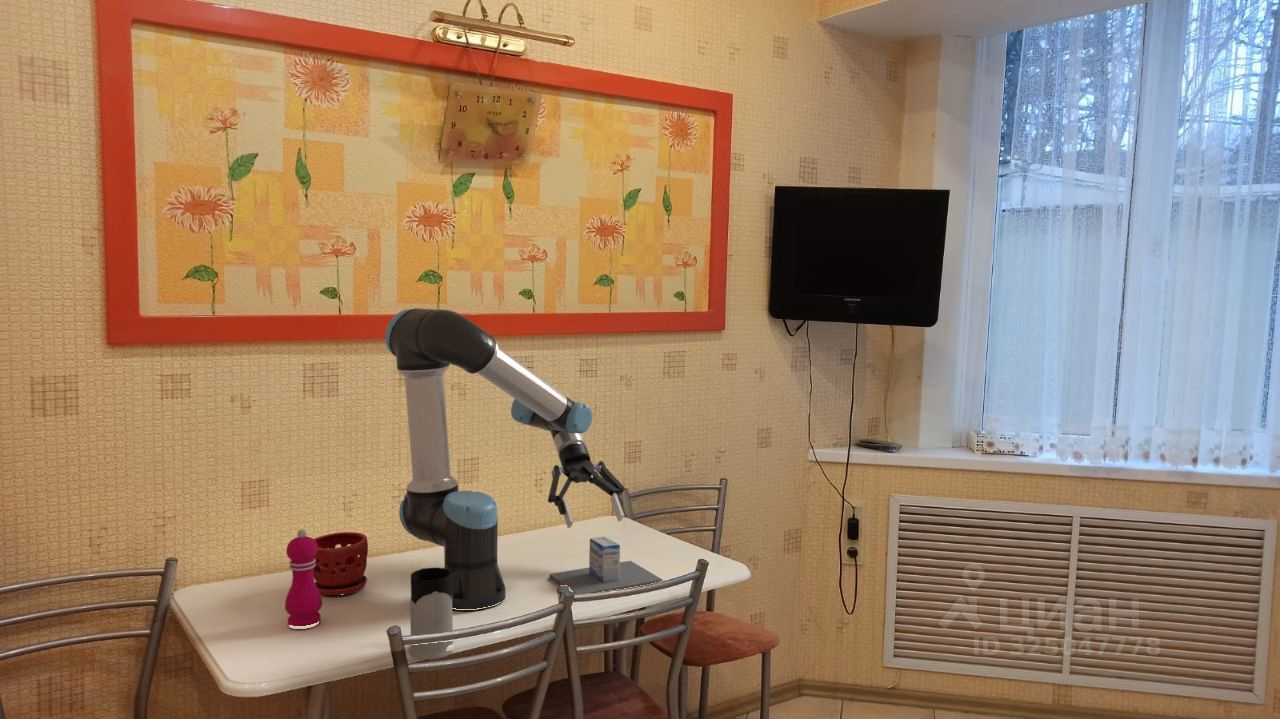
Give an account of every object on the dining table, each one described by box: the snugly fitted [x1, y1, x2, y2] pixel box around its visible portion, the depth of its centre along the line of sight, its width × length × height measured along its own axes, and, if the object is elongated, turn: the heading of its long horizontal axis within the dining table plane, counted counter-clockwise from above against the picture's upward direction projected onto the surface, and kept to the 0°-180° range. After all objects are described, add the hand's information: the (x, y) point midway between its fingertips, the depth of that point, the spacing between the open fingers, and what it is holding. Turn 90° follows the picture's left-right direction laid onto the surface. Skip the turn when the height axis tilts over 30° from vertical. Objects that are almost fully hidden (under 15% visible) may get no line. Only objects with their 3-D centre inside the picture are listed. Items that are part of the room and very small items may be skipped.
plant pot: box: [313, 531, 369, 596], centre depth 201 cm, size 13×13×12 cm
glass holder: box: [408, 567, 455, 660], centre depth 171 cm, size 9×14×15 cm, turn 24°
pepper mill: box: [284, 529, 323, 626], centre depth 180 cm, size 7×7×20 cm
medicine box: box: [588, 536, 621, 582], centre depth 208 cm, size 8×4×9 cm, turn 29°
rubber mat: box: [549, 560, 663, 594], centre depth 209 cm, size 22×16×1 cm
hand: (596, 521), depth 214 cm, fingers open, 13 cm apart
